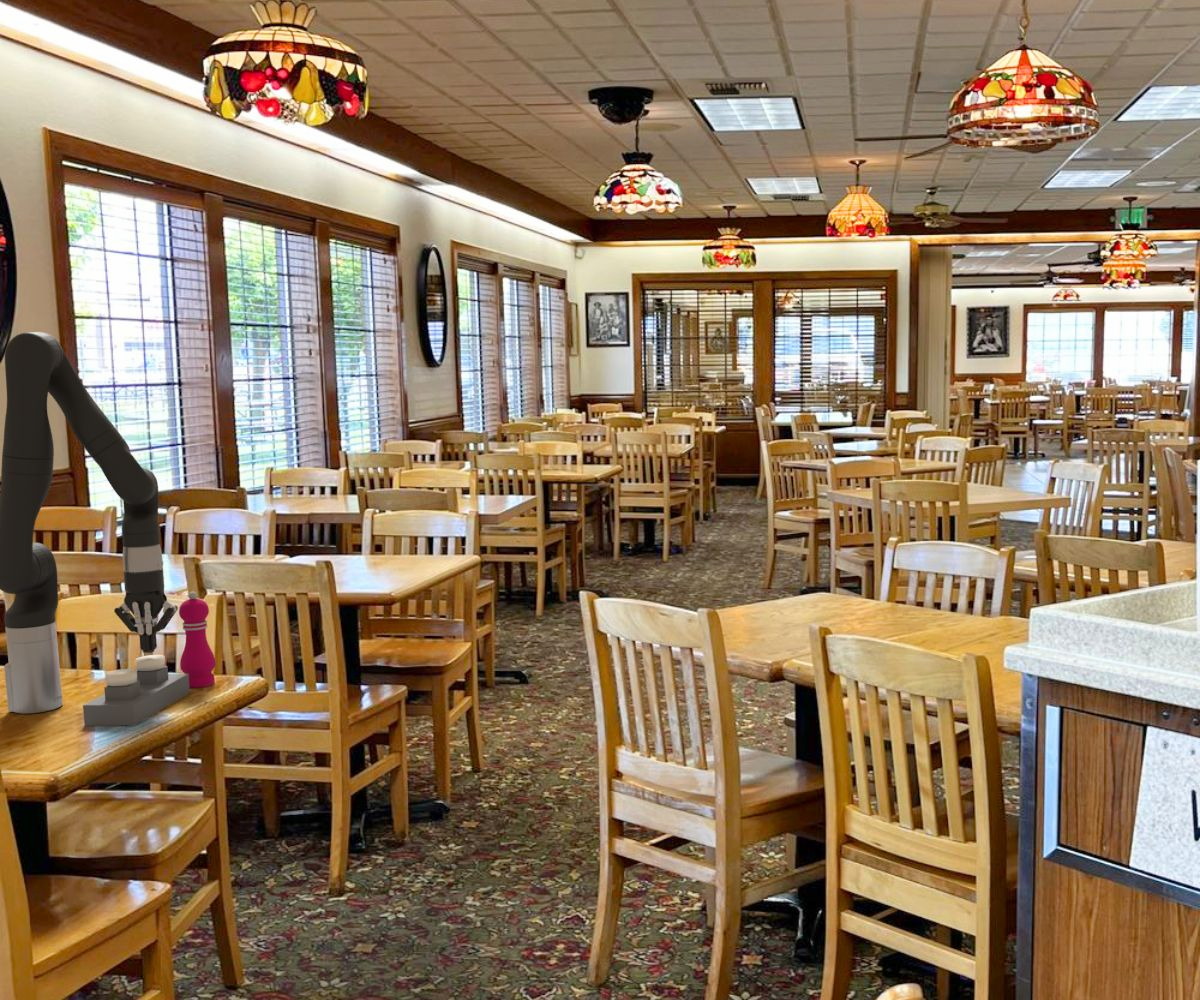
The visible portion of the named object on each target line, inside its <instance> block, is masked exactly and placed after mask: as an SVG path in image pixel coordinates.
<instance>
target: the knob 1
mask: <svg viewBox="0 0 1200 1000" xmlns="http://www.w3.org/2000/svg"><path fill="white" fill-rule="evenodd" d="M135 682H137V670H136V668H135V669H134V668H121V669H115V670H110V671H107V672H106V673H105V683H106V686H127V685H129V684H133V683H135Z"/></svg>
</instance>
